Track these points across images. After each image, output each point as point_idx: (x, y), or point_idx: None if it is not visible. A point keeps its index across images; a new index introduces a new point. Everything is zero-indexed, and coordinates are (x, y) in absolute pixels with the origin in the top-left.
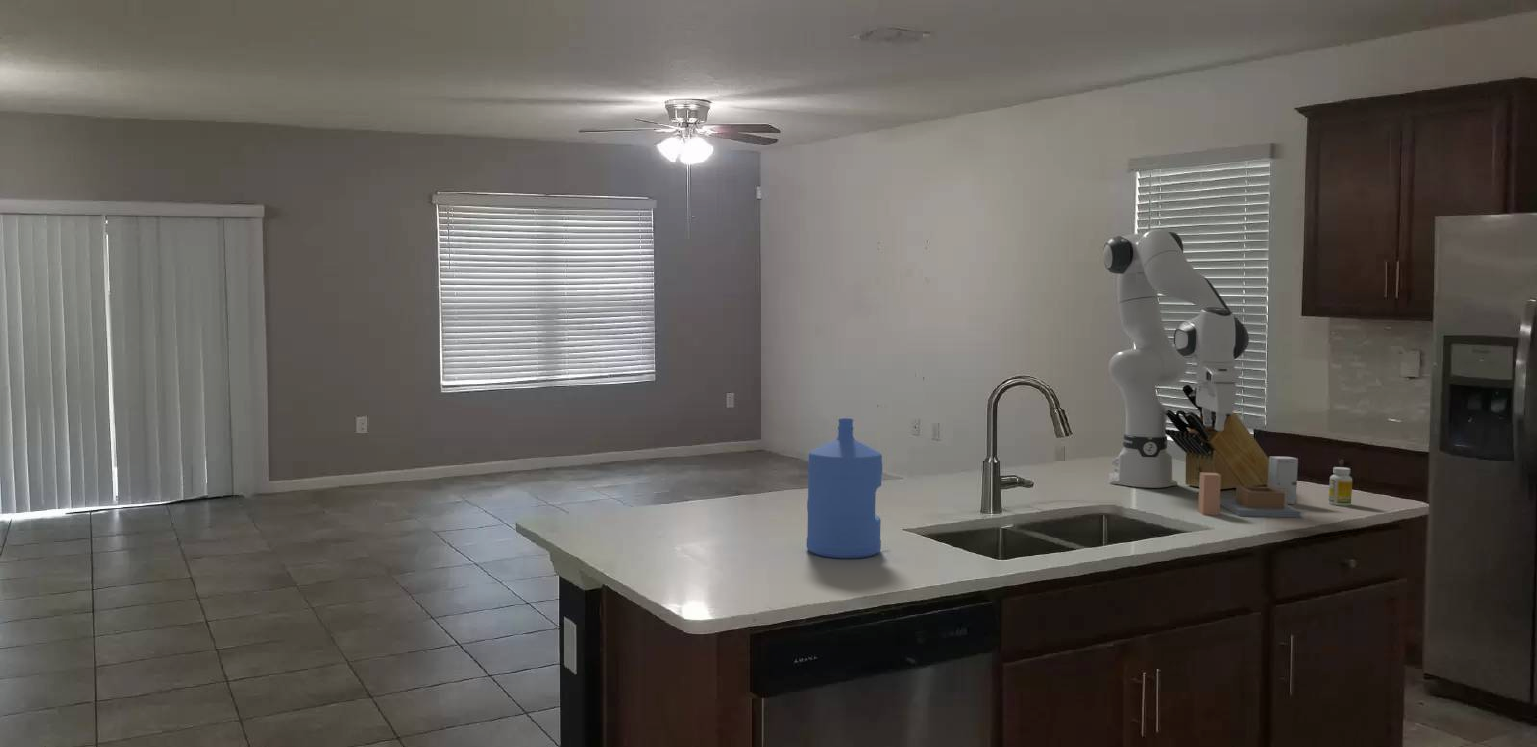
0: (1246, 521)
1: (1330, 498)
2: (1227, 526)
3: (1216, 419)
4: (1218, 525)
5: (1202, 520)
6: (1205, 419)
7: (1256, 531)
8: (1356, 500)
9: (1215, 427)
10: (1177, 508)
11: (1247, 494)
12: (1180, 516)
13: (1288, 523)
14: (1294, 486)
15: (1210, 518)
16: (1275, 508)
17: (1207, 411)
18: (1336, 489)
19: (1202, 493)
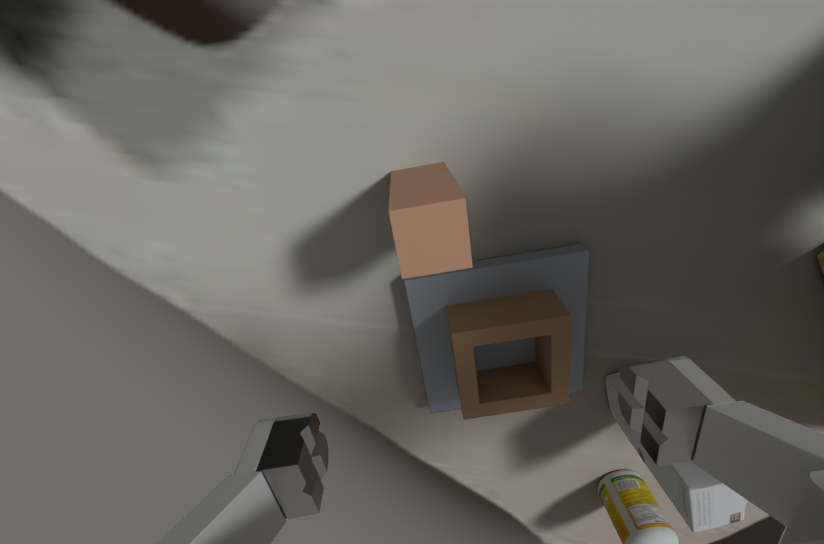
0: (324, 282)
1: (621, 481)
2: (217, 223)
3: (198, 521)
4: (219, 199)
5: (283, 158)
6: (665, 412)
7: (183, 289)
8: (663, 510)
9: (273, 431)
10: (487, 92)
11: (452, 328)
12: (327, 86)
13: (339, 370)
14: (636, 448)
15: (331, 188)
16: (454, 369)
17: (798, 518)
18: (621, 511)
19: (406, 185)
